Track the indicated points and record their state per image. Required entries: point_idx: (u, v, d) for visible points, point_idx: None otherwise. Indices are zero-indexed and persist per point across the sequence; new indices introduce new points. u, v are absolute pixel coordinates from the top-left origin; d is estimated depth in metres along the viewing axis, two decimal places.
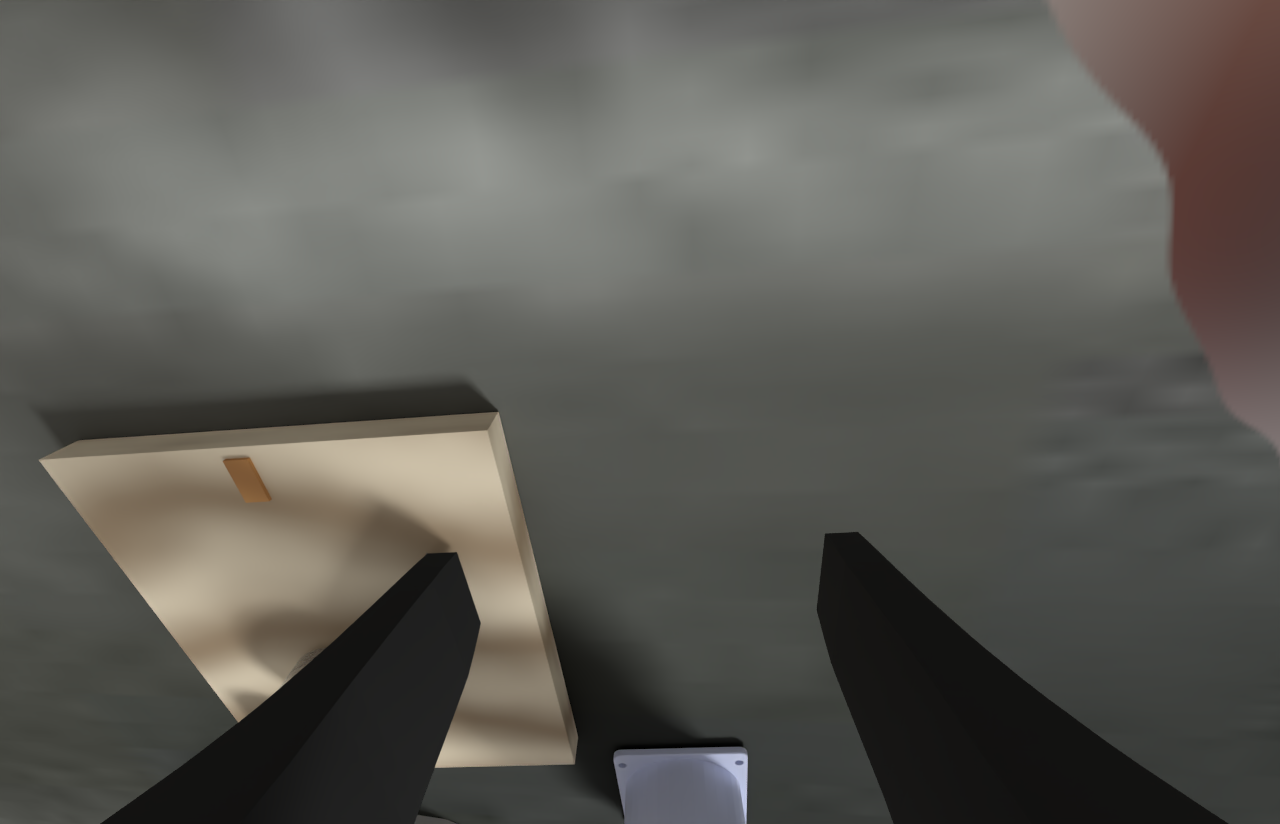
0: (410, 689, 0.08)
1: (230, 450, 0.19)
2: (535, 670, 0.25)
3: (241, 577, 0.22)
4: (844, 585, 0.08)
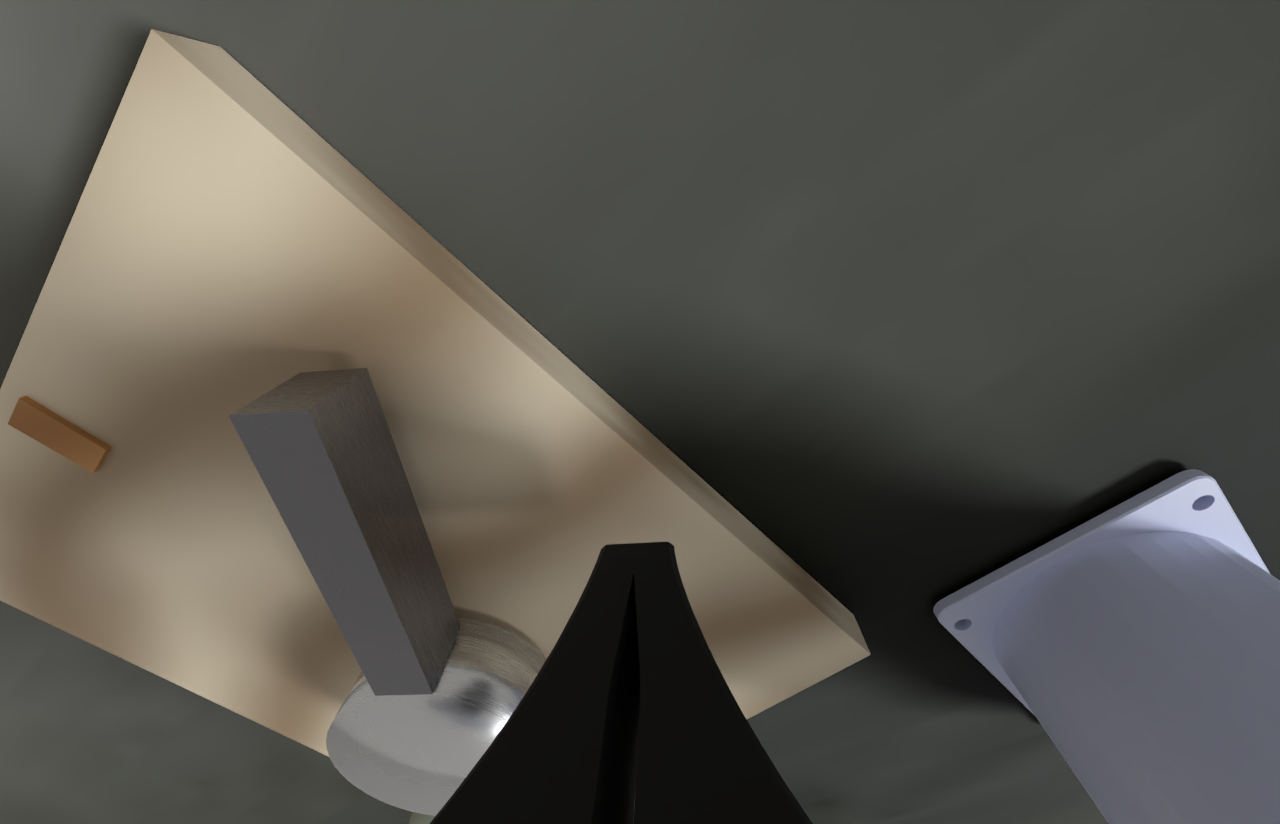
0: (629, 682, 0.08)
1: (2, 402, 0.12)
2: (667, 511, 0.13)
3: (215, 594, 0.15)
4: None
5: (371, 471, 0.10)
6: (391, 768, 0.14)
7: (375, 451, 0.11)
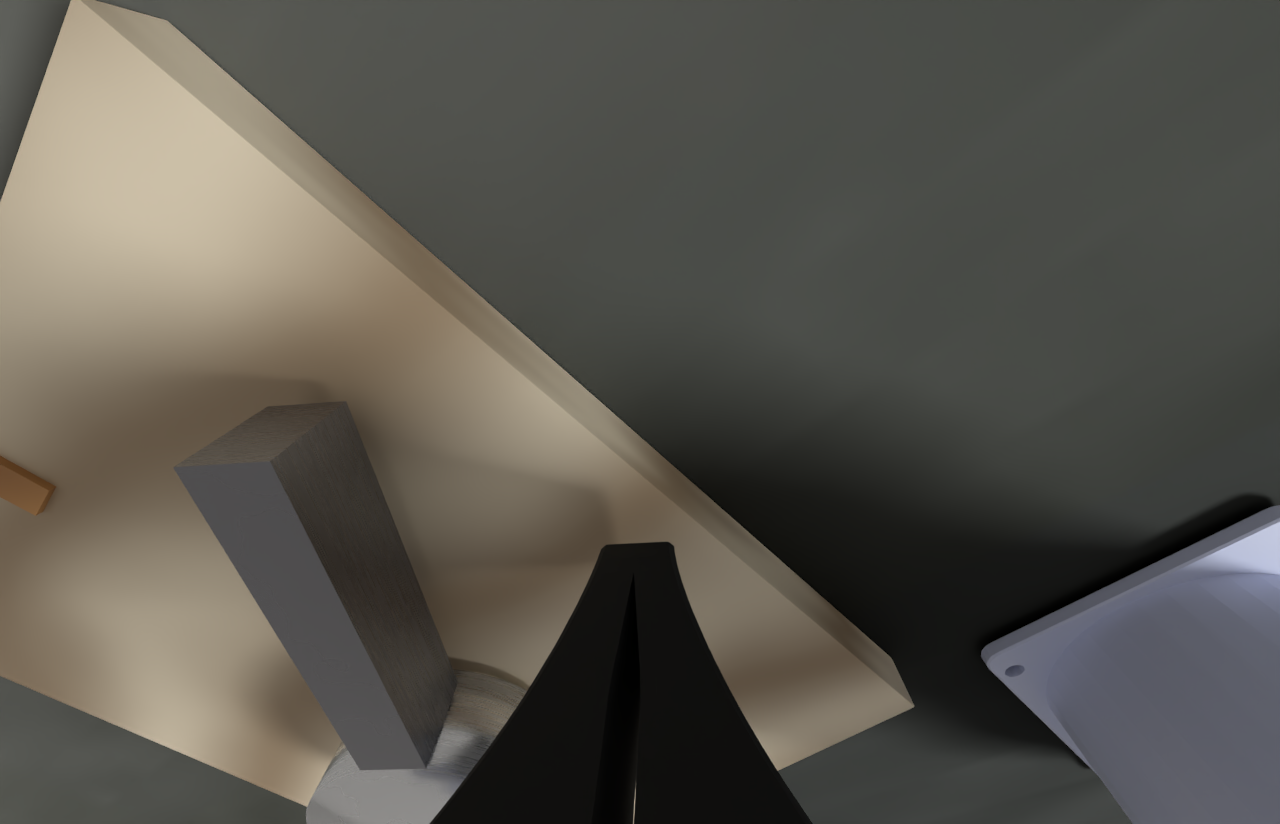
0: (629, 682, 0.08)
1: None
2: (692, 556, 0.11)
3: (182, 645, 0.13)
4: None
5: (351, 523, 0.09)
6: None
7: (356, 498, 0.09)
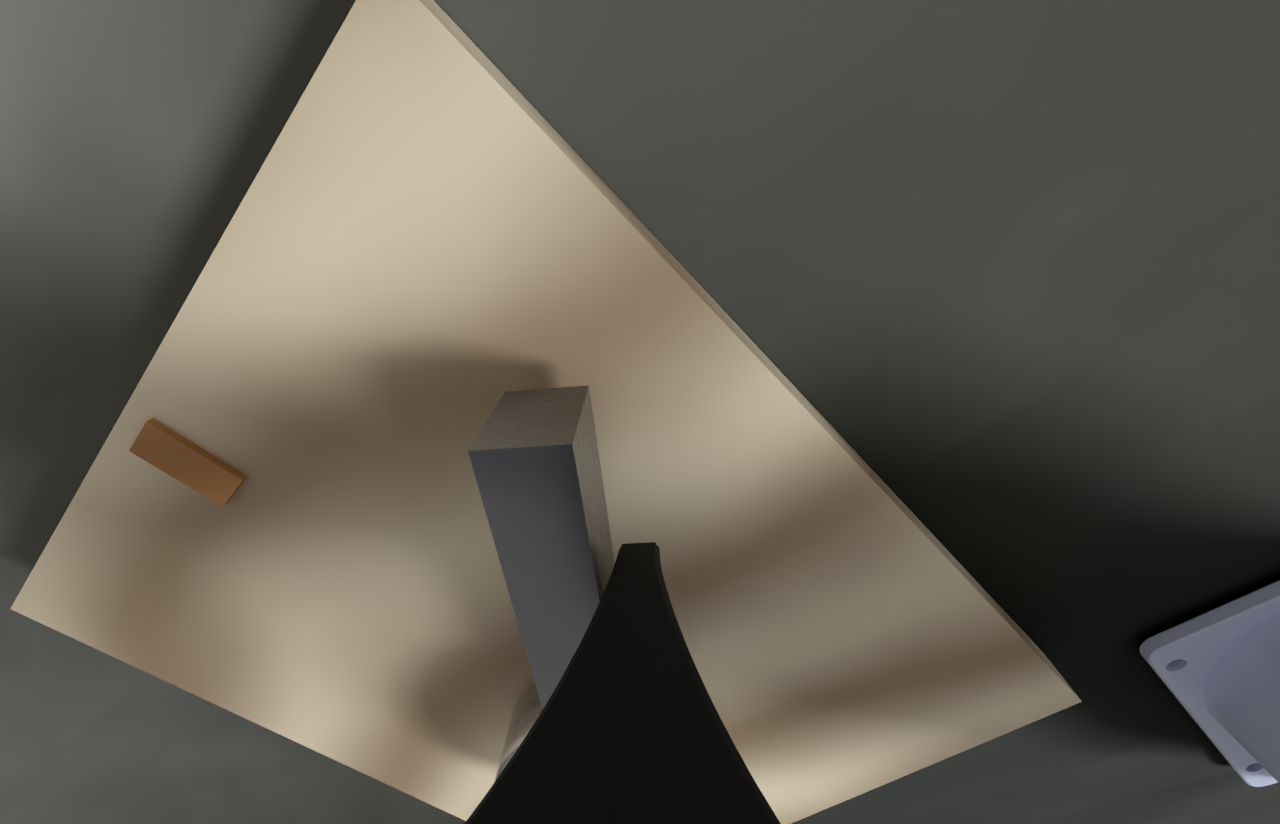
0: None
1: (124, 425, 0.10)
2: (890, 547, 0.11)
3: (341, 640, 0.13)
4: None
5: (596, 511, 0.09)
6: None
7: (596, 486, 0.09)
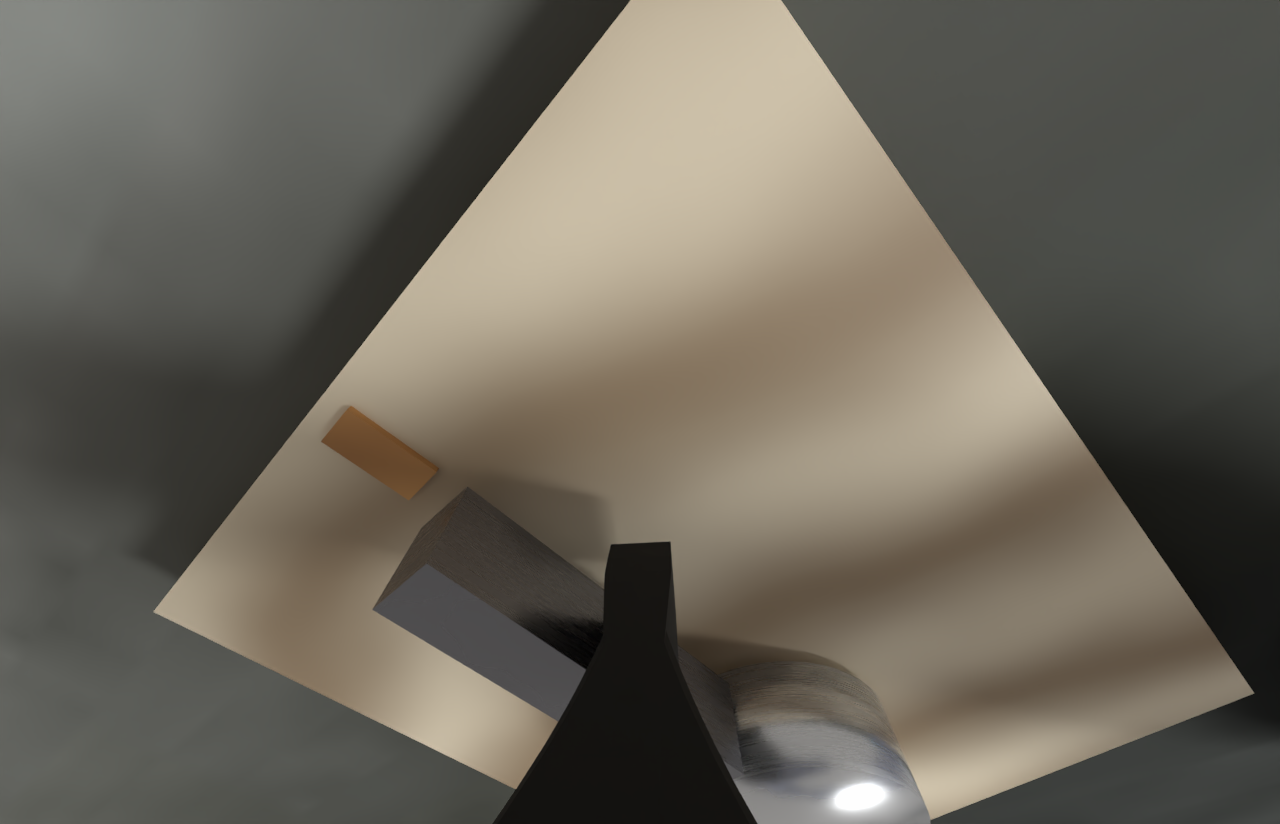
0: None
1: (318, 413, 0.09)
2: (1099, 536, 0.11)
3: None
4: None
5: (533, 583, 0.09)
6: None
7: (525, 561, 0.09)
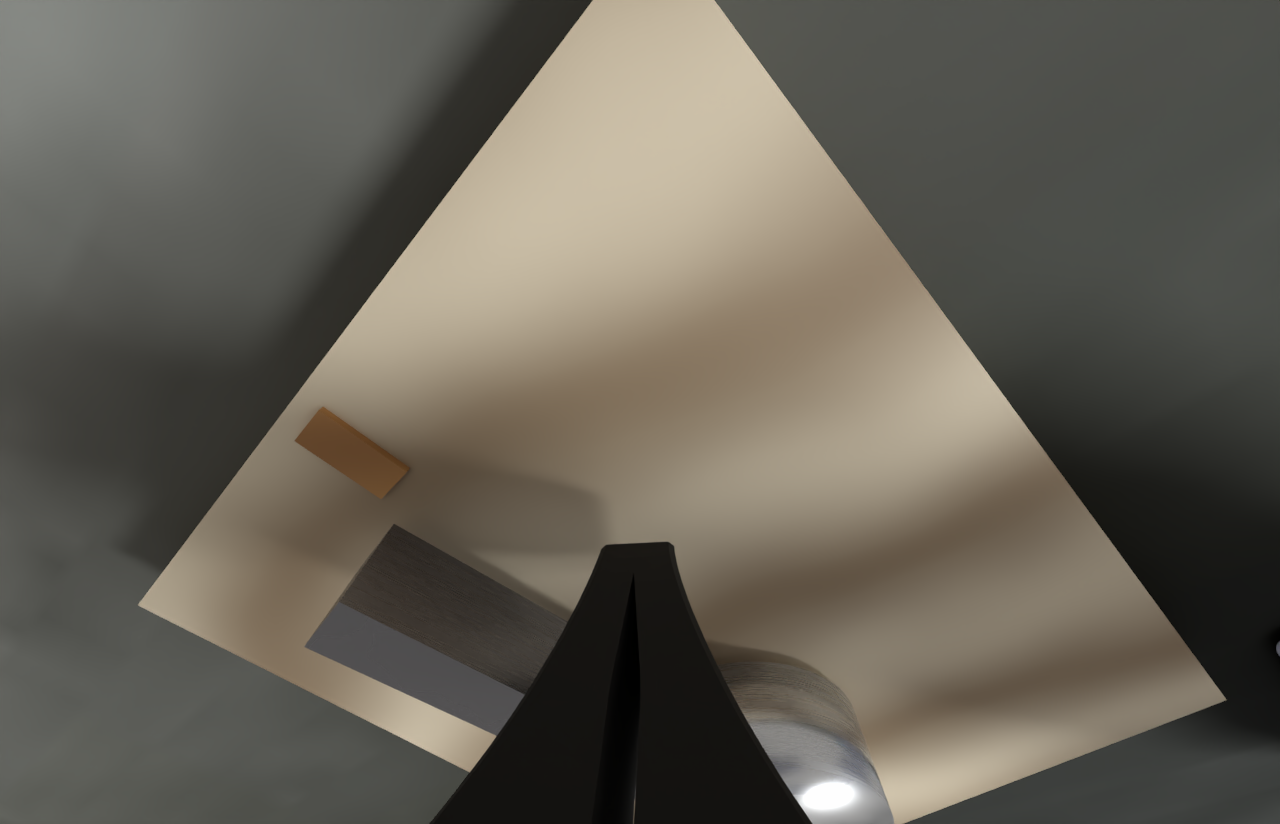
0: (629, 683, 0.08)
1: (291, 414, 0.10)
2: (1063, 541, 0.11)
3: None
4: None
5: (458, 610, 0.10)
6: None
7: (452, 589, 0.10)
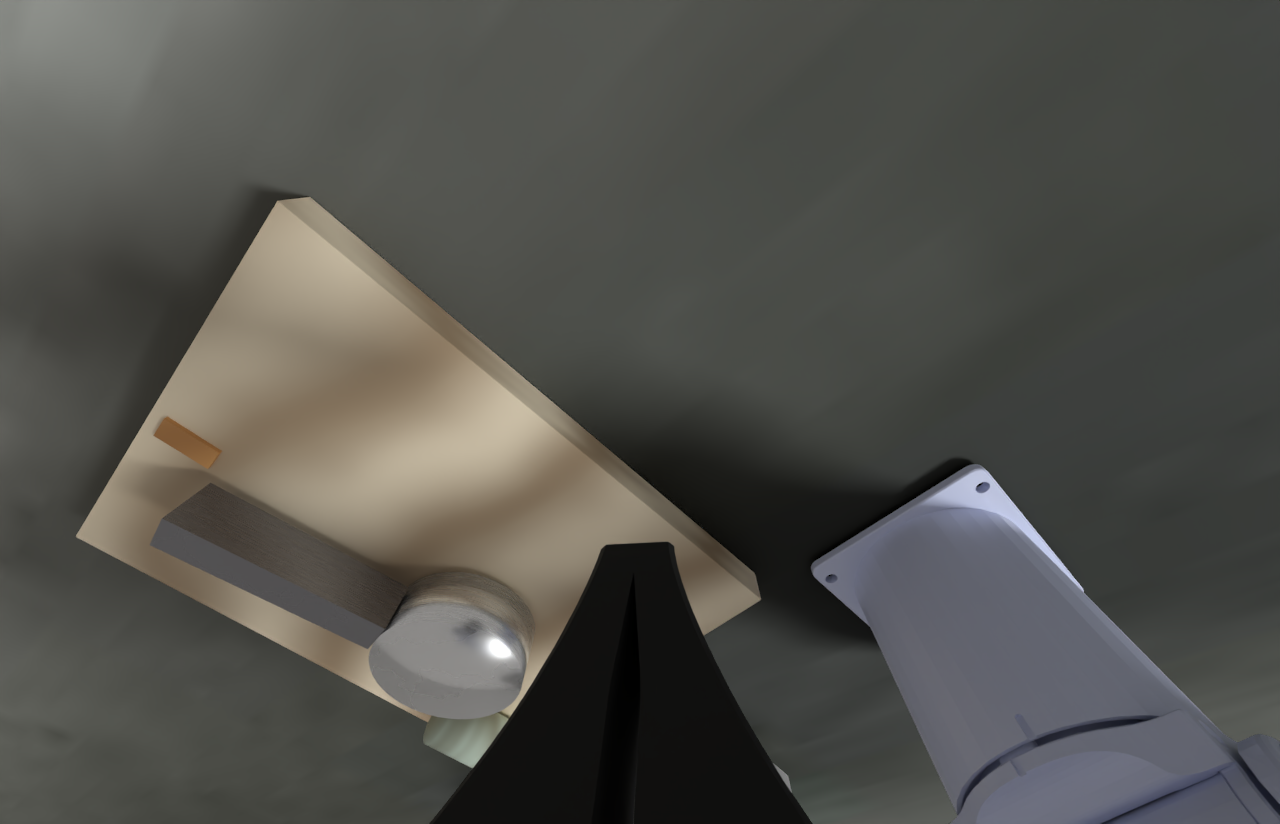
0: (629, 682, 0.08)
1: (150, 420, 0.18)
2: (606, 494, 0.19)
3: None
4: None
5: (241, 529, 0.18)
6: (434, 692, 0.20)
7: (241, 518, 0.18)
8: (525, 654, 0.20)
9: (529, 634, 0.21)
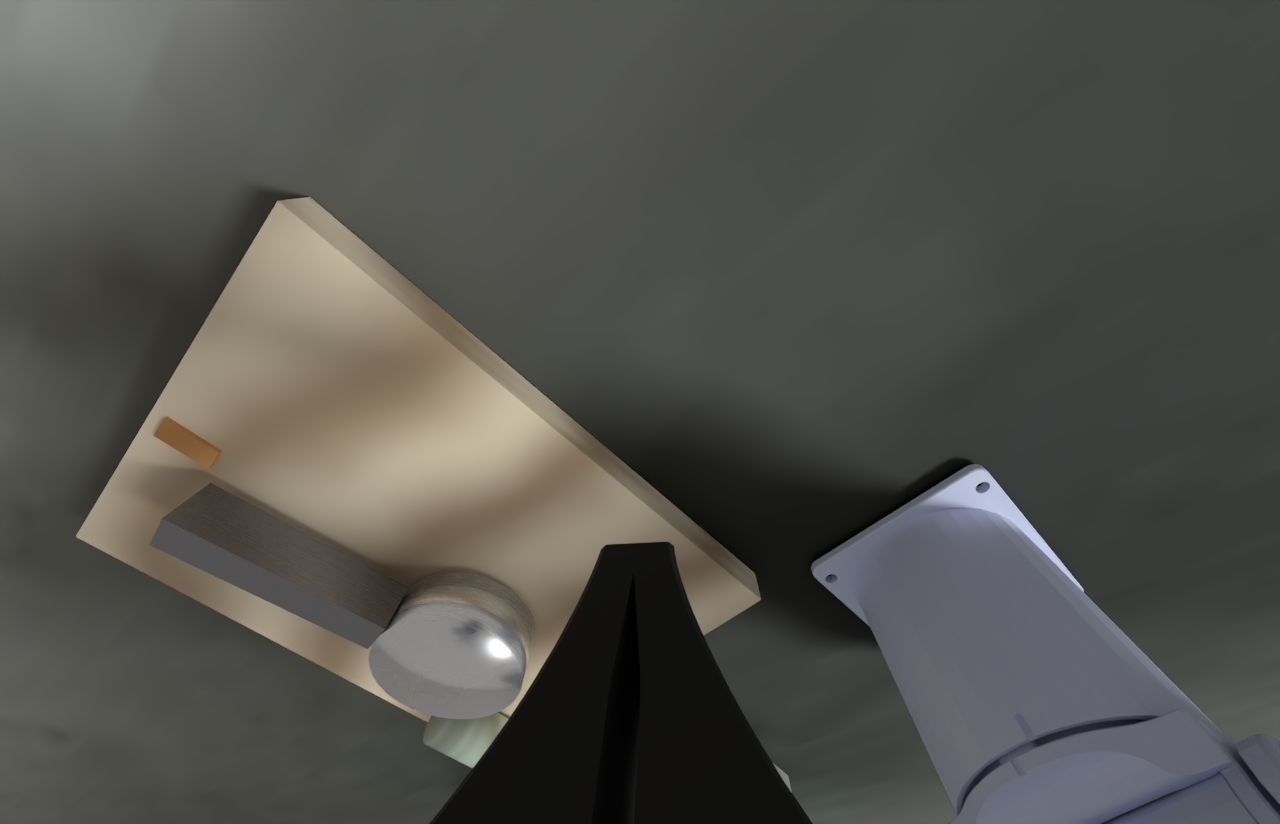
0: (629, 682, 0.08)
1: (150, 420, 0.18)
2: (606, 494, 0.19)
3: None
4: None
5: (241, 529, 0.18)
6: (434, 692, 0.20)
7: (241, 518, 0.18)
8: (525, 654, 0.20)
9: (529, 634, 0.21)
